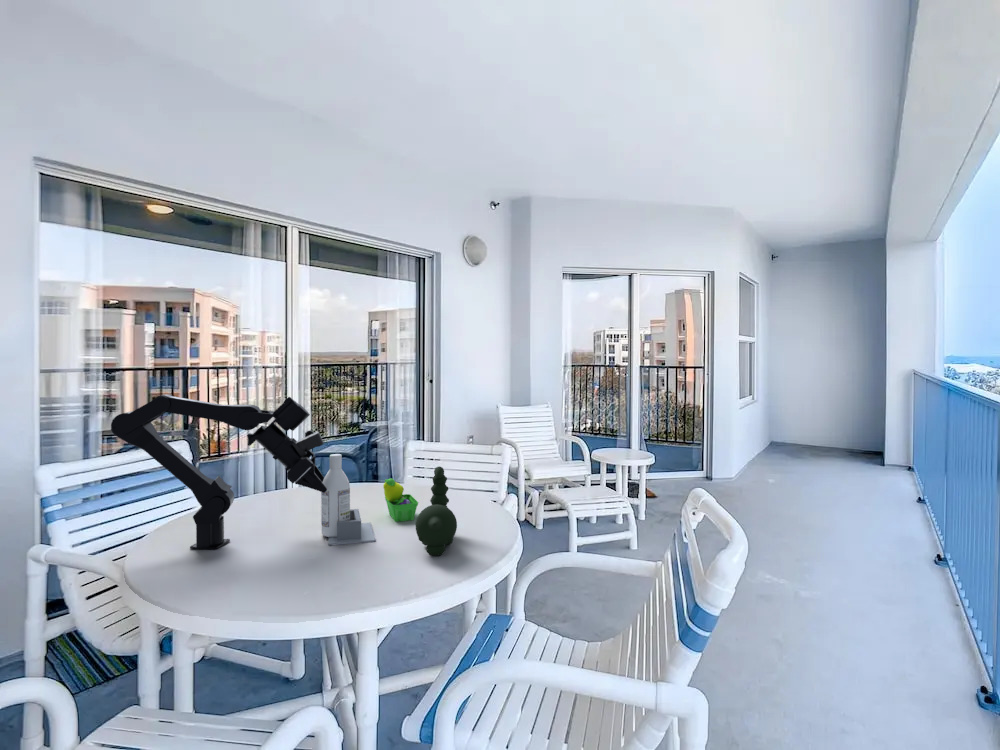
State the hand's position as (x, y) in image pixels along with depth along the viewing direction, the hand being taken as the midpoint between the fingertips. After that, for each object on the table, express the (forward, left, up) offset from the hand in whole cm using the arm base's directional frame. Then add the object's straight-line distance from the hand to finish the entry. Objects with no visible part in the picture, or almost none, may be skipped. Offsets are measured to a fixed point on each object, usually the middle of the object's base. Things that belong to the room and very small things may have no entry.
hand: (325, 487), depth 145 cm
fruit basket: (+19, -14, -13) cm, 27 cm away
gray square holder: (+2, -6, -12) cm, 14 cm away
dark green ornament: (-6, -29, -13) cm, 32 cm away
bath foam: (+1, -2, -12) cm, 12 cm away
